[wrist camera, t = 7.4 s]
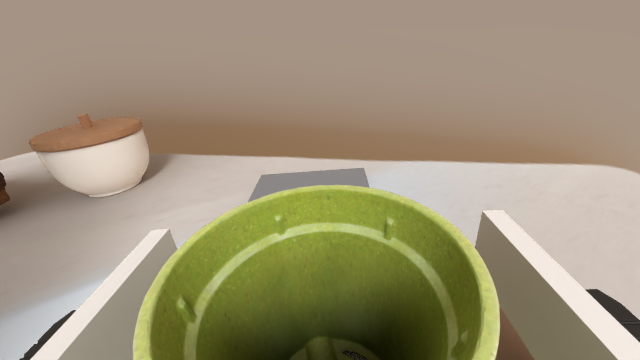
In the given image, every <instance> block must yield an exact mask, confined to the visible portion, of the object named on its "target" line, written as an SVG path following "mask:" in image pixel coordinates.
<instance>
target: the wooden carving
mask: <svg viewBox="0 0 640 360" xmlns="http://www.w3.org/2000/svg"><path fill="white" fill-rule="evenodd" d="M5 186H6V182H5V179H4V176H3V174H2V173H1V172H0V205H1V204H3V203H5V202H7V201H9V200H10V197H9V196H8V194H7V193H6V191H5V188H4V187H5Z"/></svg>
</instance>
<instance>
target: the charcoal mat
mask: <svg viewBox="0 0 640 360" xmlns="http://www.w3.org/2000/svg"><path fill="white" fill-rule="evenodd" d="M317 185H350V186H361V187H368V188H369V184H368V181H367V177H366V174H365V170H364V168H355V169H340V170H326V171H311V172H297V173H283V174H268V175H261V177H260V179H259V181H258V183H257V185H256V187H255V189H254V191H253V193H252V195H251V197H250V199H249V201H248V202H250V201H253V200H256V199H259V198H261V197H264V196H267V195H269V194H273V193H276V192H280V191H284V190H290V189H295V188H300V187H308V186H317Z"/></svg>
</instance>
